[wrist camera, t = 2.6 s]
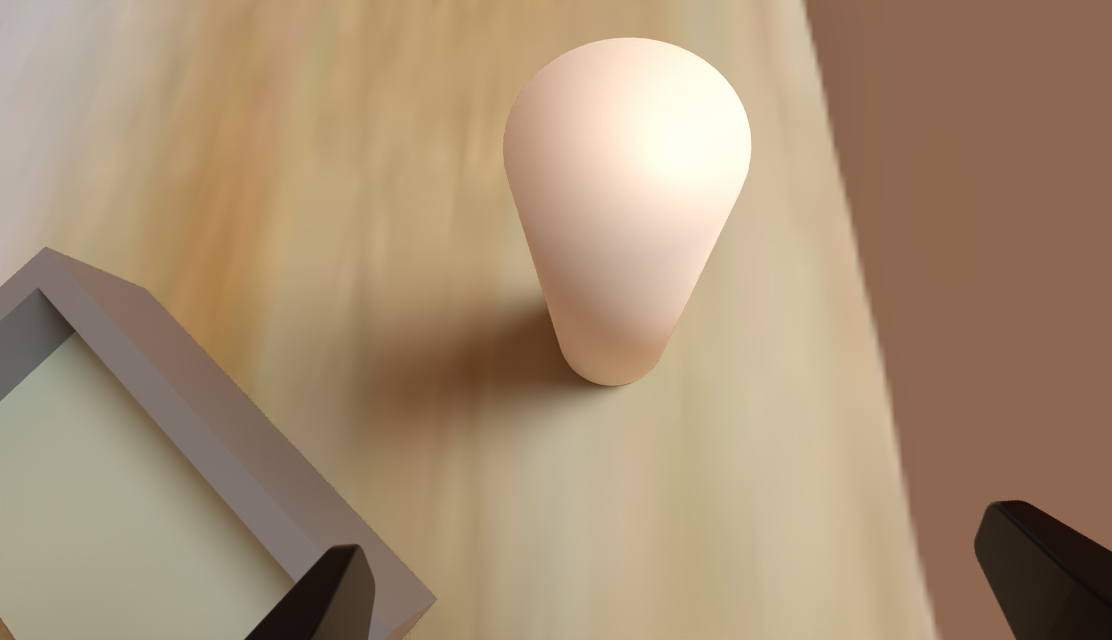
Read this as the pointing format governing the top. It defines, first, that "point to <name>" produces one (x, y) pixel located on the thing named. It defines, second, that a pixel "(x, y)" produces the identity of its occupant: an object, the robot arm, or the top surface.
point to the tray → (150, 478)
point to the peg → (623, 193)
